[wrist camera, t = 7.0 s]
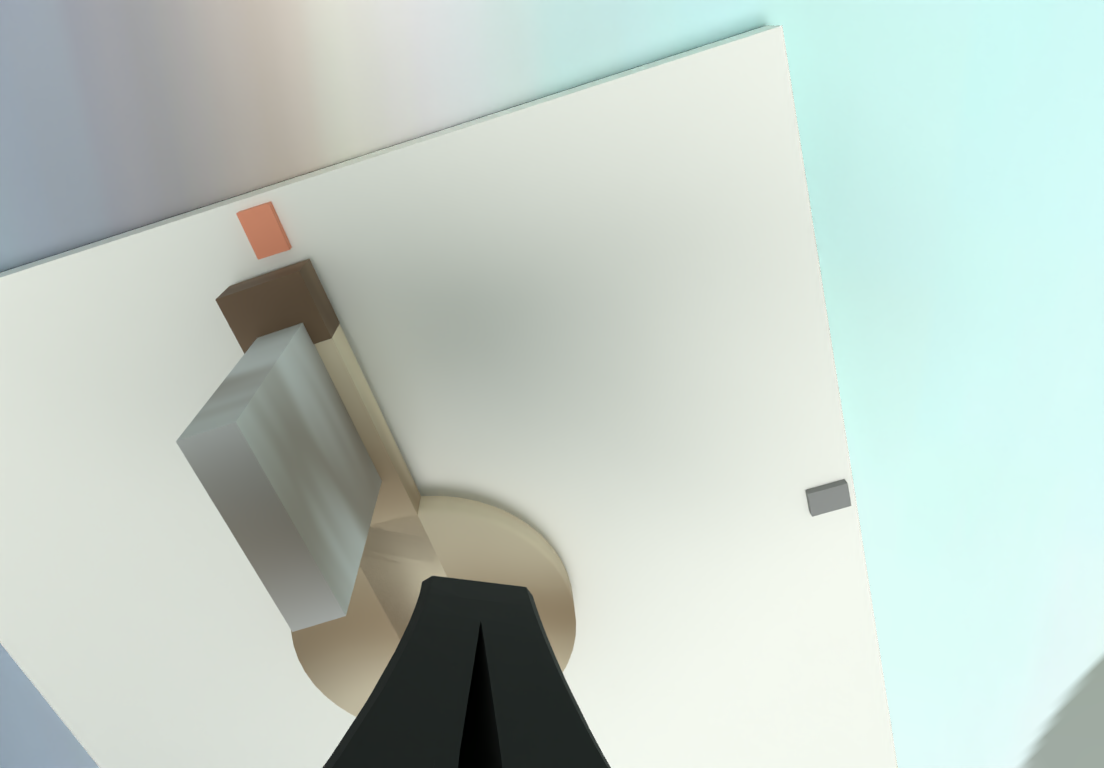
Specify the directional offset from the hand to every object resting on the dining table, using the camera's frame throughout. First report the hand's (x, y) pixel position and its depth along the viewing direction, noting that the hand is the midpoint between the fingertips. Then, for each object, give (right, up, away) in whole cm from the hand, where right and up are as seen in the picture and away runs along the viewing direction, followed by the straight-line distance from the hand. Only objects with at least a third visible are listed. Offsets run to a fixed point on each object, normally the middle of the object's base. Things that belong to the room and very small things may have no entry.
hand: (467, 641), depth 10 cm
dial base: (-2, -2, +11) cm, 11 cm away
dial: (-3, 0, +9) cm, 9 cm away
